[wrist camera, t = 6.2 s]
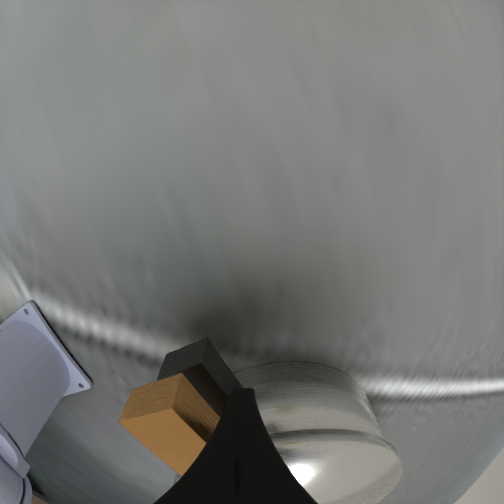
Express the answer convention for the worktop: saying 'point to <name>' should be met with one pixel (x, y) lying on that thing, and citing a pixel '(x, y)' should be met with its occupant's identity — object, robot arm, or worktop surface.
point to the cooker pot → (278, 390)
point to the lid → (287, 443)
